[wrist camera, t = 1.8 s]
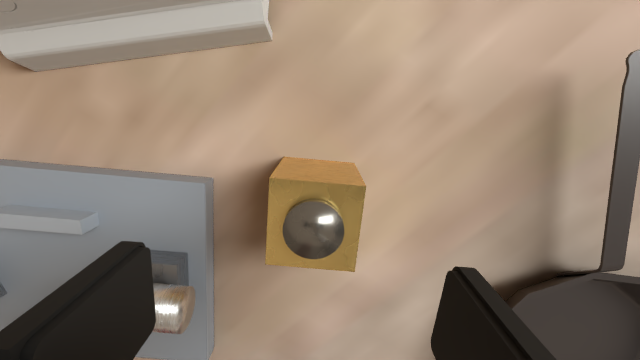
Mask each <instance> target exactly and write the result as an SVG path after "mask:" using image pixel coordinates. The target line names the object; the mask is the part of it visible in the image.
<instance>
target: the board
mask: <svg viewBox="0 0 640 360" xmlns="http://www.w3.org/2000/svg"><path fill="white" fill-rule="evenodd" d="M121 241H133V242H143V243H144V244H145V246H146V247H148V248H149V249H150V250H162V251H174V252H185V253H188V272H189V286H192V287H194V289H195V306H194V311H193V314H192V318H191V320H190V323H189V325H188V327H187V328H186V330H185V331H184V332H183V333H182V334H171V333H159V332H152V333H151V334H150V336H149V337H148V339H147V340H146V342H145V343H144V345H143V346H142V347H141V349H140V350H139V352H138V353H137V355H136V356H135V357H142V358H154V359H167V360H209V358H210V356H211V353H212V351H213V349H214V236H213V178H208V177H197V176H186V175H174V174H163V173H152V172H140V171H129V170H118V169H106V168H95V167H84V166H72V165H61V164H50V163H38V162H27V161H16V160H4V159H0V282H1V283H2V285H3V287H4V288H5V290H6V291H7V294H6V295H4V296H2V297H1V298H0V331H1V330H2V329H4V328H5V327H6V326H8V325H9V324H10V323H12V322H13V321H14V320H16V319H17V318H18V317H20V316H21V315H22V314H24V313H25V312H26V311H28V310H29V309H30V308H32V307H33V306H35V305H36V304H37V303H39V302H40V301H41V300H43V299H44V298H45V297H47V296H48V295H49V294H51V293H52V292H53V291H55V290H56V289H57V288H59V287H60V286H61V285H63V284H64V283H65V282H67V281H68V280H69V279H71V278H72V277H73V276H75V275H76V274H77V273H79V272H80V271H81V270H83V269H84V268H85V267H87V266H88V265H89V264H91V263H92V262H94V261H95V260H96V259H98V258H99V257H100V256H102V255H103V254H104V253H106V252H107V251H108V250H110V249H111V248H112V247H114V246H115V245H116V244H118V243H119V242H121Z"/></svg>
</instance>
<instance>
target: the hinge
mask: <svg viewBox="0 0 640 360" xmlns="http://www.w3.org/2000/svg"><path fill="white" fill-rule="evenodd" d="M268 7H269V0H0V51H1V52H2V54H3V55H4V56H5V57H6V58H7V59H9V60H11V61H13V62H15V63H17V64H20V65H22V66H24V67H26V68H28V69H31V70H33V71H35V72H37V71H45V70H52V69H60V68H68V67H75V66H83V65H91V64H98V63H106V62H114V61H121V60H129V59H137V58H144V57H152V56H160V55H167V54H175V53H183V52H190V51H198V50H206V49H213V48H221V47H229V46H236V45H244V44H252V43H259V42H267V41H272V30H271V27H270V25H269V22H268Z"/></svg>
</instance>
